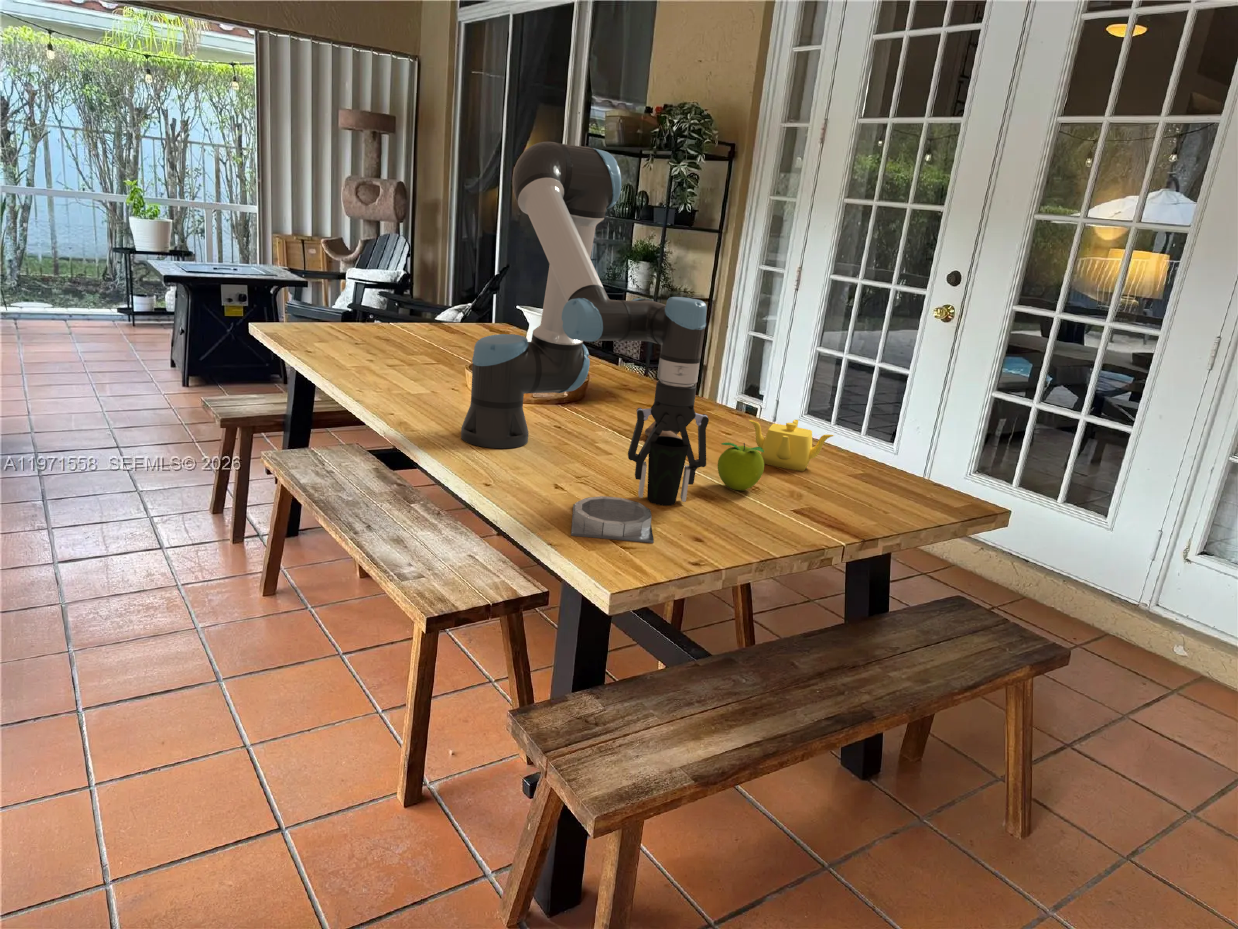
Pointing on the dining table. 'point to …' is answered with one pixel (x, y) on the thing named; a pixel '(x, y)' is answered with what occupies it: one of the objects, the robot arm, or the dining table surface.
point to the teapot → (788, 445)
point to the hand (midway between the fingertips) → (661, 497)
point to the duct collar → (612, 519)
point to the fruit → (740, 466)
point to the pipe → (663, 433)
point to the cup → (665, 469)
